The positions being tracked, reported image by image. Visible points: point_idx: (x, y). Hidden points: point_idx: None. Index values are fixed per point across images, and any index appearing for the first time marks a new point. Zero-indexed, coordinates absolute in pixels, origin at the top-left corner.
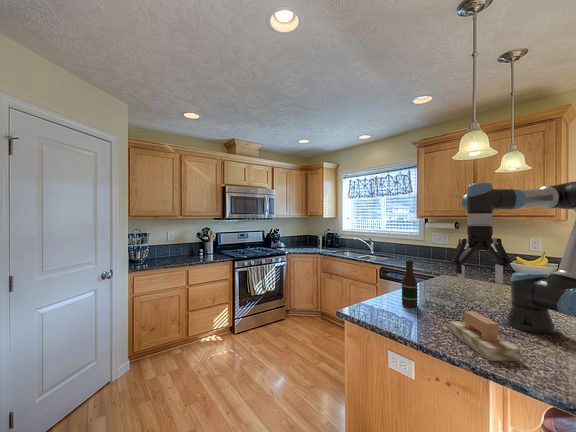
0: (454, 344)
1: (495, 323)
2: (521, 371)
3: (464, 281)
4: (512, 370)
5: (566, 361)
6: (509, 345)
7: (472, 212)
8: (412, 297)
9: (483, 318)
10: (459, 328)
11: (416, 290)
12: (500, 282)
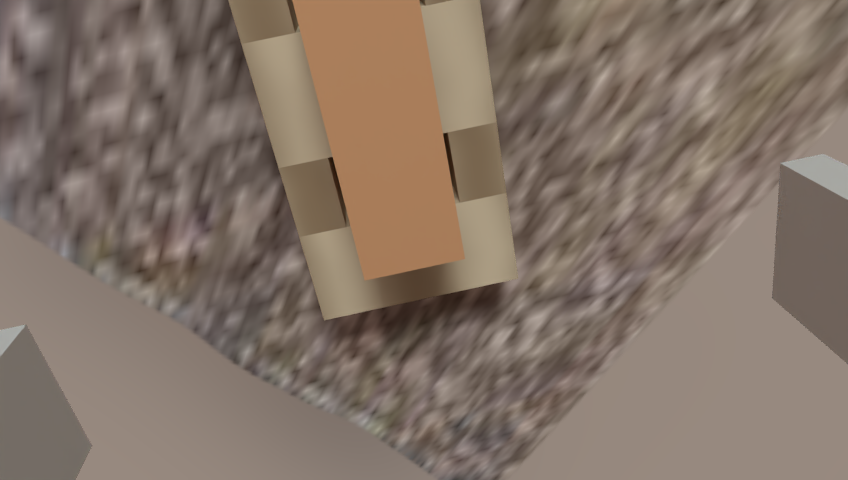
0: (180, 113)
1: (443, 256)
2: (442, 344)
3: (73, 477)
4: (403, 346)
5: (761, 179)
6: (481, 247)
7: None
8: None
9: (397, 153)
10: (231, 6)
11: None
12: (788, 295)
